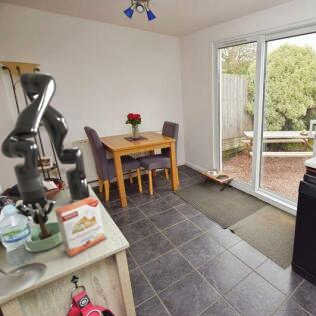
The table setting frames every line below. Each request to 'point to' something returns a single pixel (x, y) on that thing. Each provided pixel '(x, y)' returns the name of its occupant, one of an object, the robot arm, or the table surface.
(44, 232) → the pestle
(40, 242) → the bowl
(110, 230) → the table surface
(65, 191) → the table surface
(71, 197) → the robot arm
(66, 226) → the cracker box
